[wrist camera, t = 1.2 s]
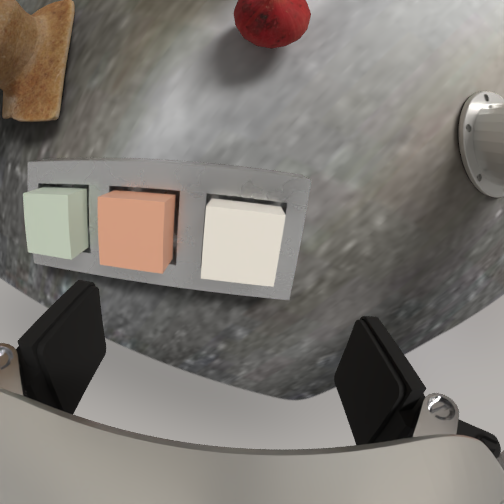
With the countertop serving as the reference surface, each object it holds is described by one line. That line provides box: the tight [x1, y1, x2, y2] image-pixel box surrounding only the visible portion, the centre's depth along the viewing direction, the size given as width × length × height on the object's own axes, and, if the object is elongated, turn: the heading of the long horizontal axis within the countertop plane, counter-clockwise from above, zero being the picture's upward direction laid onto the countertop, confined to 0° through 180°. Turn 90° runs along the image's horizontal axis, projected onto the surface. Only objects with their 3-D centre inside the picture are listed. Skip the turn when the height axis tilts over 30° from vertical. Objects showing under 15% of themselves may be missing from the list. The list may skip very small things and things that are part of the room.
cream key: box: [201, 198, 286, 287], centre depth 21 cm, size 5×5×3 cm
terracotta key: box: [98, 190, 176, 274], centre depth 21 cm, size 5×5×3 cm
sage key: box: [23, 187, 89, 260], centre depth 20 cm, size 5×5×3 cm
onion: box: [234, 0, 311, 49], centre depth 16 cm, size 6×6×8 cm
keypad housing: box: [28, 157, 311, 300], centre depth 24 cm, size 25×10×4 cm, turn 83°
